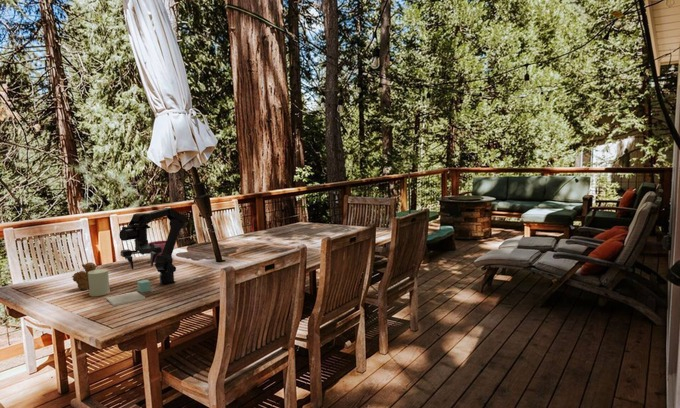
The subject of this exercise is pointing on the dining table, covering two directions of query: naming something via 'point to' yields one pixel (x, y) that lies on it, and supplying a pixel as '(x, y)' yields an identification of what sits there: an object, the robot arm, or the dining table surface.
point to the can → (98, 282)
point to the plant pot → (160, 244)
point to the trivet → (125, 298)
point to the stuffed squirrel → (84, 276)
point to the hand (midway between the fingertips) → (142, 267)
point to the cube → (143, 286)
